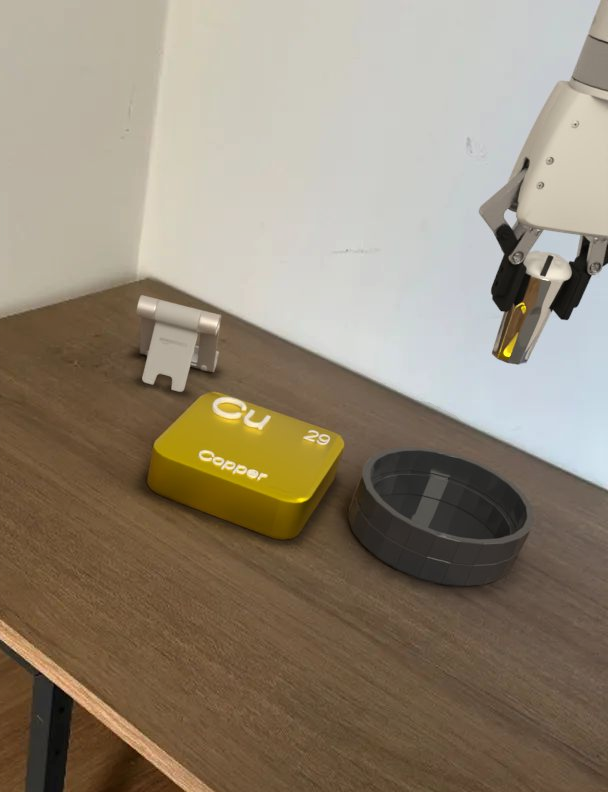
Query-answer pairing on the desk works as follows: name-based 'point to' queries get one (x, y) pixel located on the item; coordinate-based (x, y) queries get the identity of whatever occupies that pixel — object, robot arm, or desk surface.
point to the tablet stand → (176, 340)
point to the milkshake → (531, 306)
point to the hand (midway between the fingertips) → (530, 307)
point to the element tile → (245, 464)
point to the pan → (440, 516)
